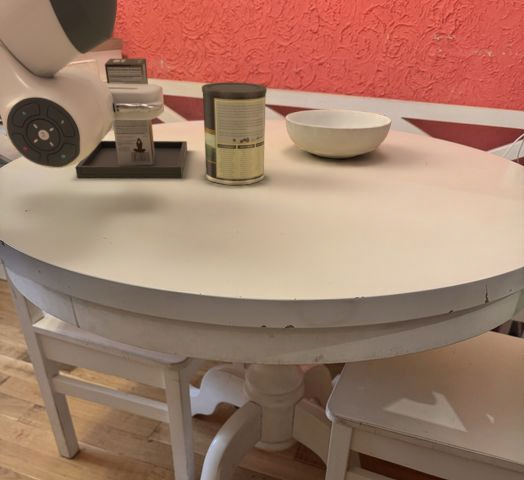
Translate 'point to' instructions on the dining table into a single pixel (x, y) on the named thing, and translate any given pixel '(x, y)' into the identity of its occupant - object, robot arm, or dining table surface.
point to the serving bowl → (337, 132)
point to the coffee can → (234, 132)
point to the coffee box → (131, 131)
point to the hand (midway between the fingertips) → (99, 91)
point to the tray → (106, 166)
